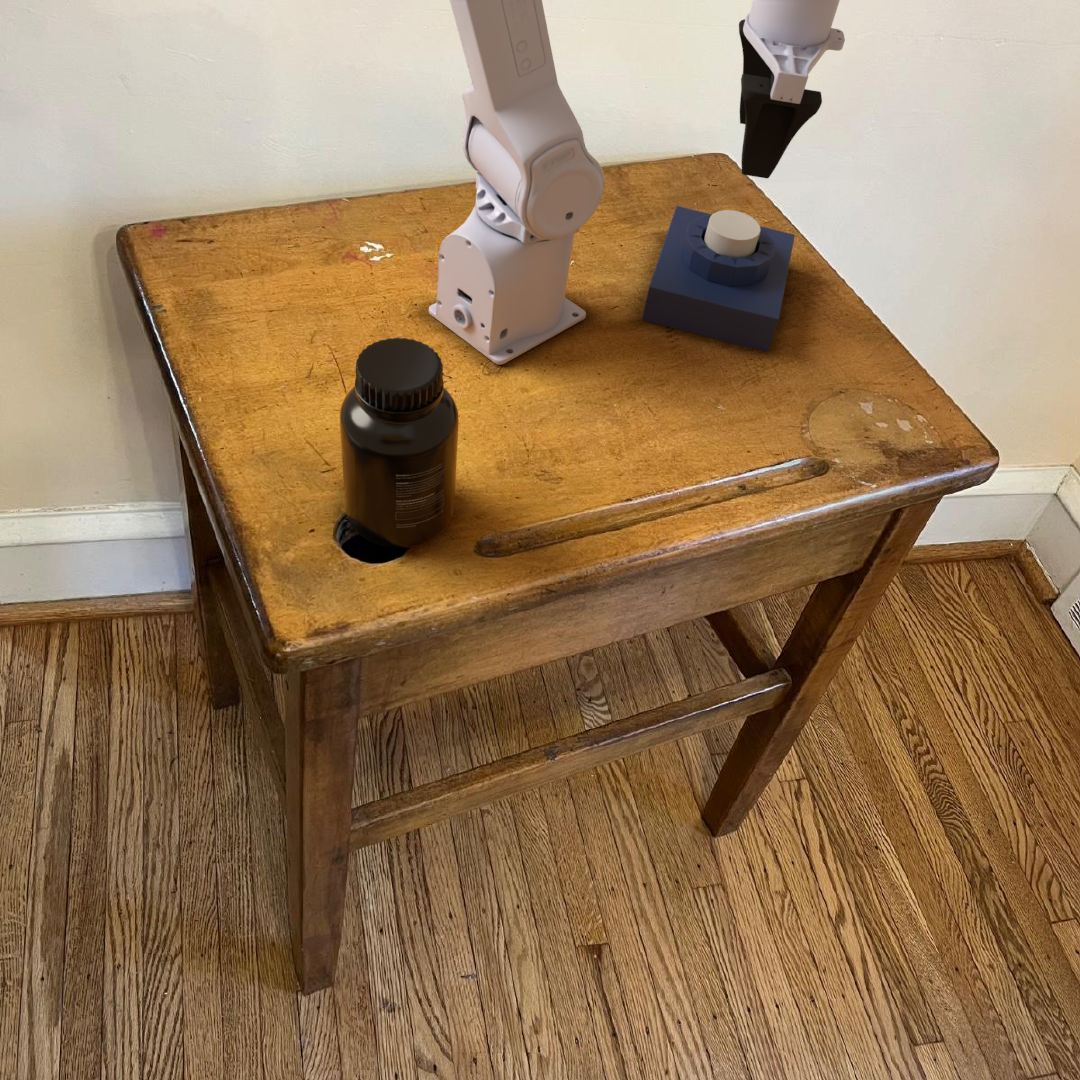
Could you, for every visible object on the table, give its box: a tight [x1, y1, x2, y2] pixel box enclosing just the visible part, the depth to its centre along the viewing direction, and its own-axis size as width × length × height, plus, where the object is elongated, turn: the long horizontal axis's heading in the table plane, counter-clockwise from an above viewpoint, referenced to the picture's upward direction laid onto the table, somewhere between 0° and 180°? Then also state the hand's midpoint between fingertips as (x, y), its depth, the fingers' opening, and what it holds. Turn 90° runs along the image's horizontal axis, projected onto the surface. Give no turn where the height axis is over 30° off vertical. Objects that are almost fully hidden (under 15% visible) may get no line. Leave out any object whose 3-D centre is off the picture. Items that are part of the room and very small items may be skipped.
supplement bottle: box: [339, 337, 460, 549], centre depth 63 cm, size 7×7×12 cm
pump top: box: [704, 209, 761, 258], centre depth 83 cm, size 4×4×2 cm
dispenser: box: [641, 205, 796, 353], centre depth 85 cm, size 12×10×5 cm
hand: (753, 148), depth 82 cm, fingers open, 7 cm apart
